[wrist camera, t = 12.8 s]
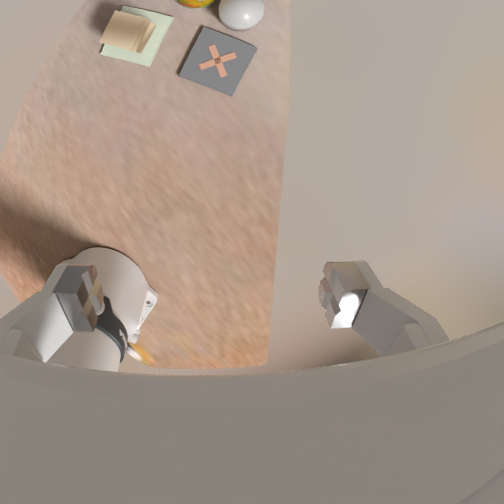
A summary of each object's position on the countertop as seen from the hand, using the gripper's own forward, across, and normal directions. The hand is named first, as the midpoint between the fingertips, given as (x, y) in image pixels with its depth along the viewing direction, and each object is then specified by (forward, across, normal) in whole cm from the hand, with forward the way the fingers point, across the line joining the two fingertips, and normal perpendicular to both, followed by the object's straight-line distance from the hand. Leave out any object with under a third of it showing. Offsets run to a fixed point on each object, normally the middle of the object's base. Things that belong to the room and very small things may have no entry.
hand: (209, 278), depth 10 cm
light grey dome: (+29, -2, -15) cm, 33 cm away
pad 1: (+29, +10, -13) cm, 33 cm away
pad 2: (+29, 0, -9) cm, 30 cm away
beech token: (+28, +10, -13) cm, 33 cm away
